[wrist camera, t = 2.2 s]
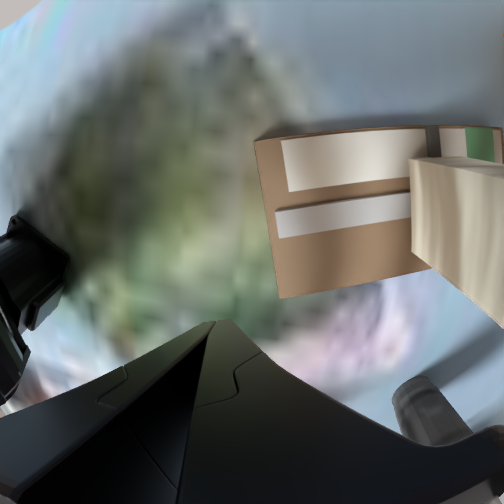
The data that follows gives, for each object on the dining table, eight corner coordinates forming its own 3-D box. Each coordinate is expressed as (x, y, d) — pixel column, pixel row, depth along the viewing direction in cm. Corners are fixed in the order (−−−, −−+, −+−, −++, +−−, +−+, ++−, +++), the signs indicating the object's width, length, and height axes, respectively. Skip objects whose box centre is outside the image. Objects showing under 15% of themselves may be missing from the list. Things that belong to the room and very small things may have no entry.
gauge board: (277, 288, 22) (280, 301, 20) (253, 141, 18) (254, 141, 16) (490, 244, 21) (503, 252, 19) (490, 127, 18) (505, 128, 16)
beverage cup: (410, 358, 25) (509, 540, 6) (453, 372, 26) (541, 514, 7) (365, 411, 27) (423, 584, 8) (411, 419, 28) (472, 560, 9)
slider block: (410, 250, 19) (522, 347, 8) (403, 126, 16) (551, 132, 5) (456, 241, 18) (568, 318, 8) (452, 125, 16) (592, 139, 5)
